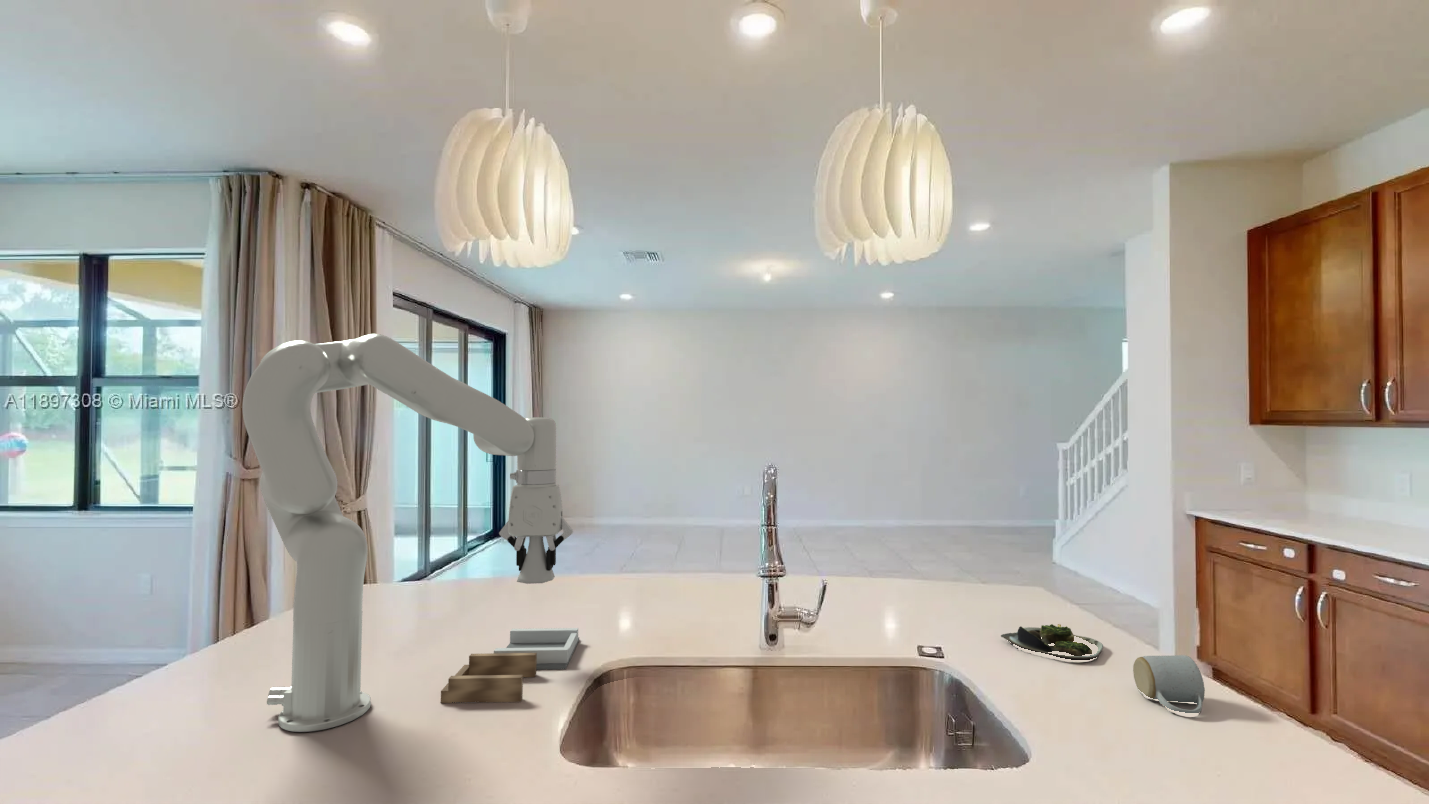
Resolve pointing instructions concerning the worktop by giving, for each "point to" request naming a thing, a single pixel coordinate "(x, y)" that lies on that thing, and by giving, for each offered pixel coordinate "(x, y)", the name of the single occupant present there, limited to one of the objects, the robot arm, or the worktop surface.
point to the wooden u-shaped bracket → (490, 678)
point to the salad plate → (1053, 641)
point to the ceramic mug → (1170, 680)
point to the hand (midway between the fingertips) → (536, 568)
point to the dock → (544, 645)
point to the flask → (535, 564)
